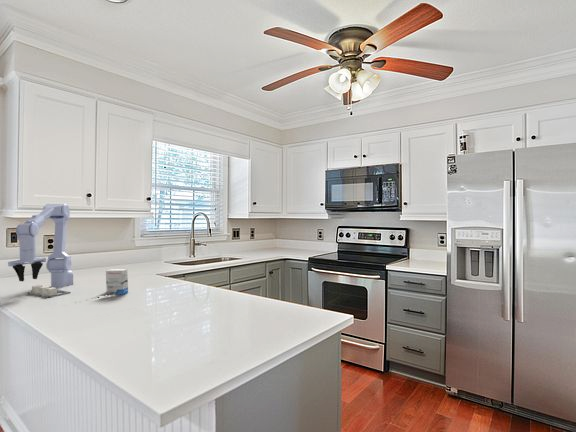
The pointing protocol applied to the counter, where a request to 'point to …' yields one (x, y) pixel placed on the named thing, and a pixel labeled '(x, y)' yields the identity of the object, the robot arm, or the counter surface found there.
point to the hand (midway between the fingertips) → (28, 280)
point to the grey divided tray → (50, 296)
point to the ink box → (117, 281)
